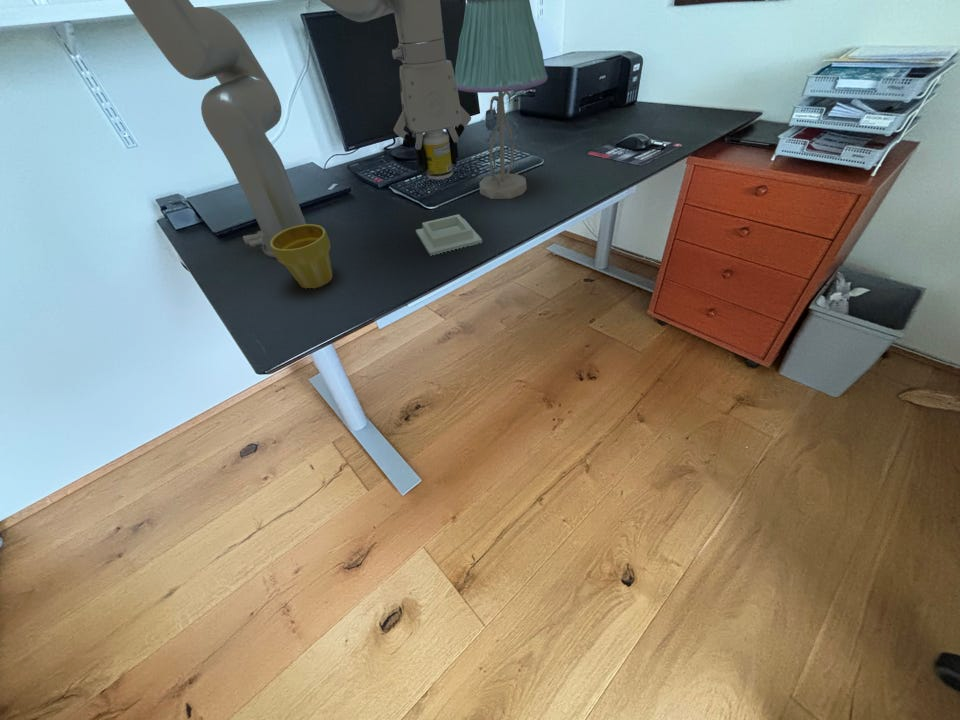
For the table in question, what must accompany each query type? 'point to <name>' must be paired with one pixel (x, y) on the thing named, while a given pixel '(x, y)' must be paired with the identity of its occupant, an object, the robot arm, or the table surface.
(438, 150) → the supplement bottle
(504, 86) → the table lamp
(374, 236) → the table surface
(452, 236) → the socket holder
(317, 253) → the plant pot
